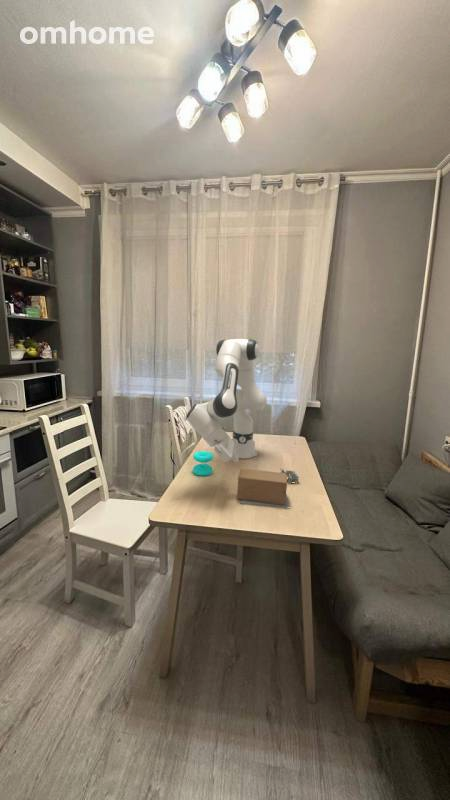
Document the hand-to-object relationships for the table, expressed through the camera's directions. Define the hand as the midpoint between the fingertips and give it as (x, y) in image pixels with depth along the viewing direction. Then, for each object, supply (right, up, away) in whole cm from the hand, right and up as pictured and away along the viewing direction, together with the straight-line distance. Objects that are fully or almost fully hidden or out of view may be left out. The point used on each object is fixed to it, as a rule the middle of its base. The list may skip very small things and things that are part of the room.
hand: (237, 460), depth 132 cm
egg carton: (+26, -14, +21) cm, 36 cm away
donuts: (-17, -11, +24) cm, 31 cm away
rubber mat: (+12, -16, +1) cm, 20 cm away
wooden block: (0, -10, +1) cm, 10 cm away
